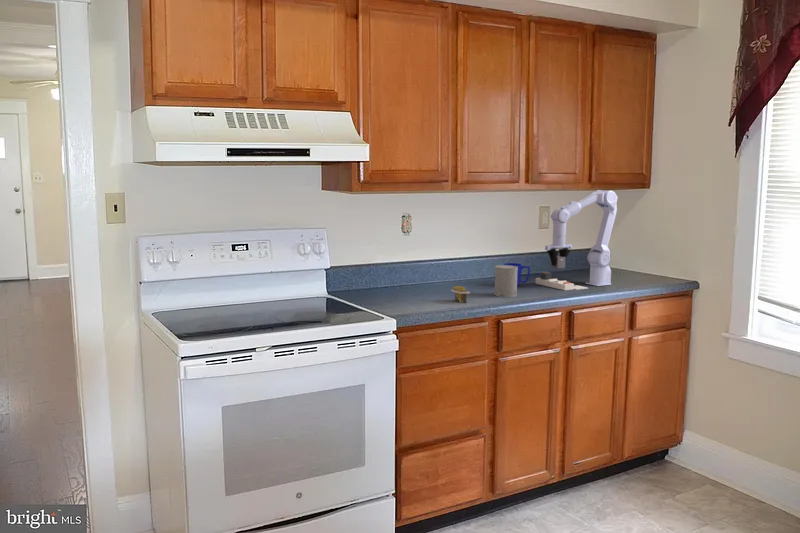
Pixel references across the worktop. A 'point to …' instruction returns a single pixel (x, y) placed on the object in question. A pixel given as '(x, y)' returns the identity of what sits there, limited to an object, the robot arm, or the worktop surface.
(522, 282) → the mug
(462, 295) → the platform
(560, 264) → the block
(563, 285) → the power strip
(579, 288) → the mat
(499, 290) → the gray concrete cylinder
